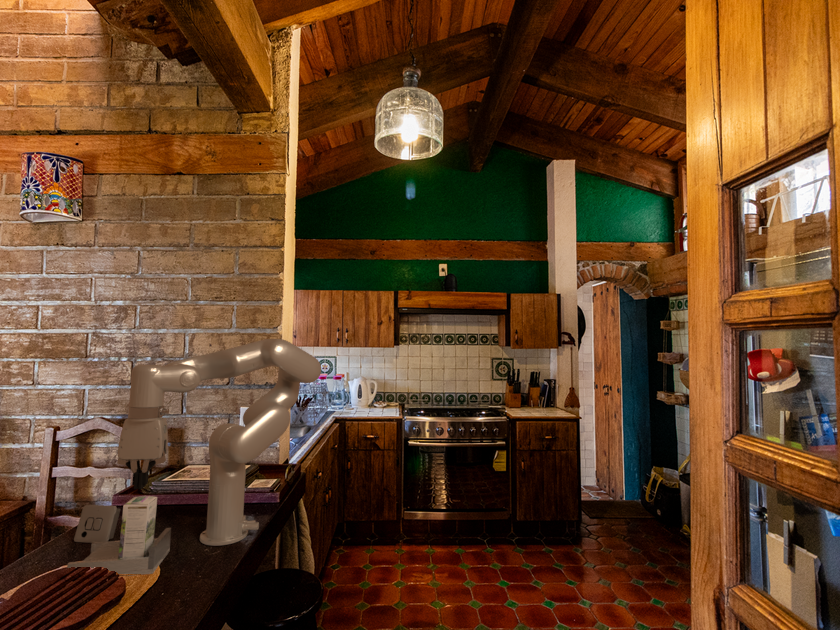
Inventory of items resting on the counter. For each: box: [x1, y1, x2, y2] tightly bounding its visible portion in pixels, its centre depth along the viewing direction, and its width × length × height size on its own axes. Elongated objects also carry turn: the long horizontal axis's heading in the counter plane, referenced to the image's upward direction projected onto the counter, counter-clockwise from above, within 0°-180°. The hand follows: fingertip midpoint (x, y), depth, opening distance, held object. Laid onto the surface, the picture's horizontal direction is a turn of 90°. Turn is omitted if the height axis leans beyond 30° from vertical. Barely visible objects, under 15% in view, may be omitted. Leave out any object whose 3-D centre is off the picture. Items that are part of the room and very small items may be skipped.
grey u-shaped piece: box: [66, 527, 172, 575], centre depth 108 cm, size 18×12×6 cm, turn 103°
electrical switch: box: [73, 504, 121, 544], centre depth 122 cm, size 9×5×9 cm, turn 86°
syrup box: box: [118, 495, 158, 559], centre depth 109 cm, size 6×6×14 cm
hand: (139, 487), depth 110 cm, fingers closed
